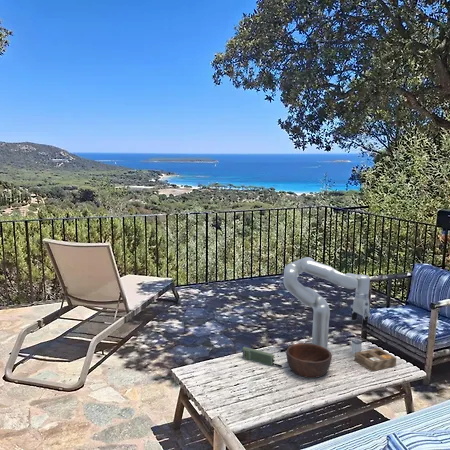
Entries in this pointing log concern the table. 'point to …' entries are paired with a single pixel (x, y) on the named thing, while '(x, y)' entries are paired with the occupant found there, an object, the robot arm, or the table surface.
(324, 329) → the robot arm
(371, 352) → the socket block
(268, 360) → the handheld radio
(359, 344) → the plug
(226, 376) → the table surface
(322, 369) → the wooden bowl
